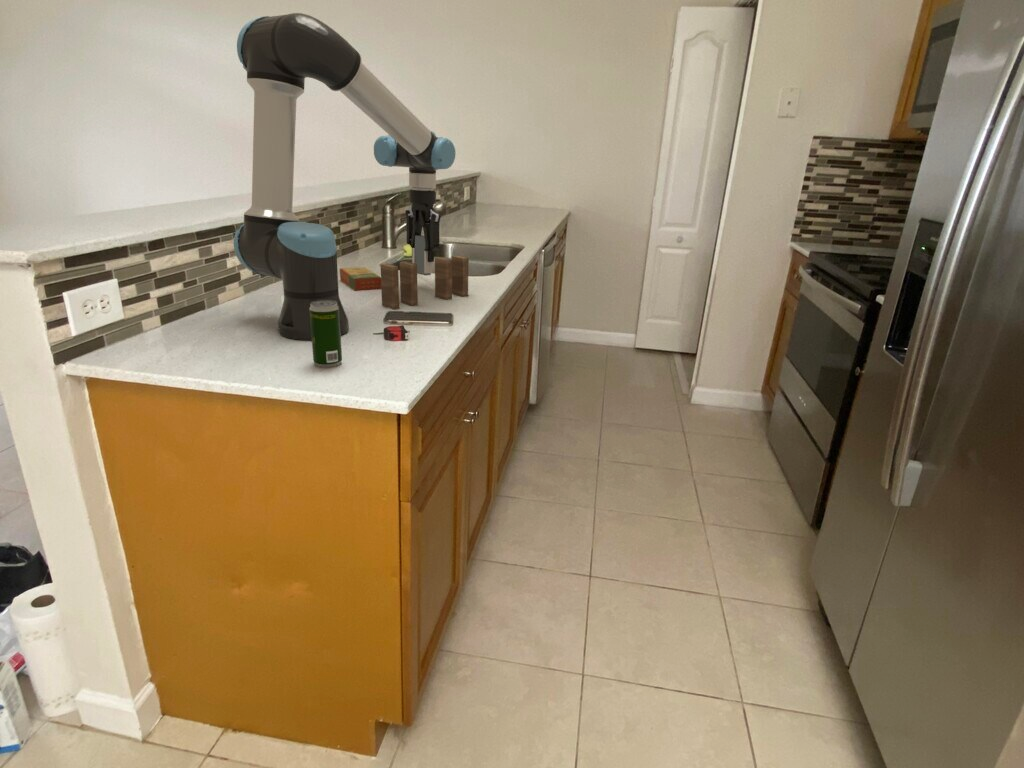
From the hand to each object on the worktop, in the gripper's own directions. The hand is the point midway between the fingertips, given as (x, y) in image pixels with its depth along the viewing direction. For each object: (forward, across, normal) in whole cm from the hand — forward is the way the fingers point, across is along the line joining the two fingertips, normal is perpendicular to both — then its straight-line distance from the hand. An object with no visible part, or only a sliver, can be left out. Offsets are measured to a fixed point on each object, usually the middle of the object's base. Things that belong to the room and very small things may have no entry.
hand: (422, 271), depth 184 cm
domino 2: (+6, -12, +14) cm, 20 cm away
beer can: (+7, -42, +56) cm, 70 cm away
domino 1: (+6, -12, +20) cm, 24 cm away
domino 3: (+1, 0, 0) cm, 1 cm away
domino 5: (+5, -12, -4) cm, 14 cm away
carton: (+6, +16, +11) cm, 20 cm away
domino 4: (+5, -12, +2) cm, 14 cm away
